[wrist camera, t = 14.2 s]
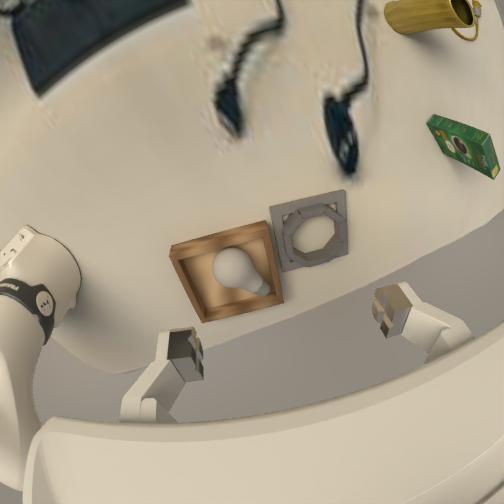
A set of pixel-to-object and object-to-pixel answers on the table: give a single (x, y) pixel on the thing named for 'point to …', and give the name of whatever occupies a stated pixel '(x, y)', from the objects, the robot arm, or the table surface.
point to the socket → (297, 214)
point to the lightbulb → (238, 271)
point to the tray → (209, 289)
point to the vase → (428, 15)
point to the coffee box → (465, 144)
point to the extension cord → (477, 13)
